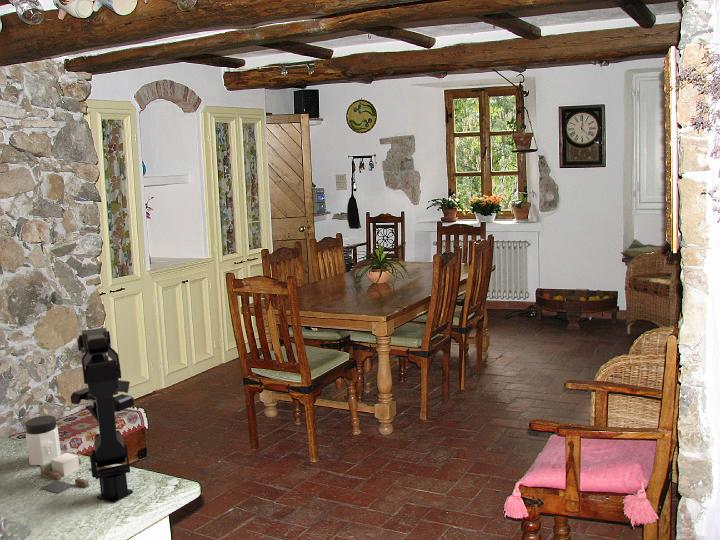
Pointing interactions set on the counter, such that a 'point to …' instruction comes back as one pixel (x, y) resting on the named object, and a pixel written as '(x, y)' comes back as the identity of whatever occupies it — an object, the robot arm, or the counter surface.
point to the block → (65, 464)
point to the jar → (42, 440)
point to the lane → (47, 472)
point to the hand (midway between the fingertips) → (105, 429)
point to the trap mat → (57, 486)
